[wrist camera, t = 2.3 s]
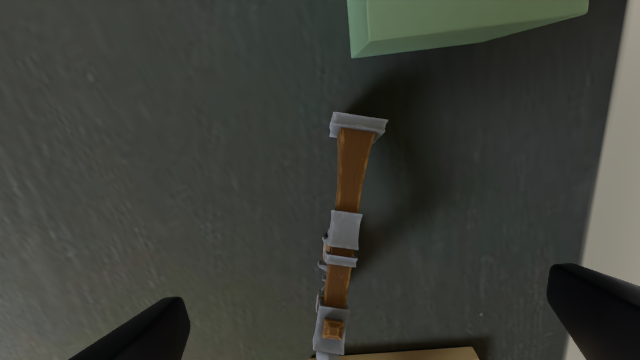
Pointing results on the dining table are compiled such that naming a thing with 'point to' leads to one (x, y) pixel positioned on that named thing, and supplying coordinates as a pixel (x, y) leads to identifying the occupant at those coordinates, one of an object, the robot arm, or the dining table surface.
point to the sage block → (446, 22)
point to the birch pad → (418, 355)
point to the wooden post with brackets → (343, 229)
